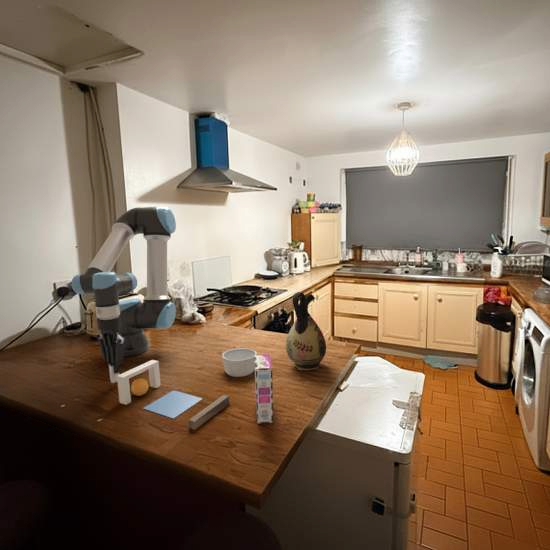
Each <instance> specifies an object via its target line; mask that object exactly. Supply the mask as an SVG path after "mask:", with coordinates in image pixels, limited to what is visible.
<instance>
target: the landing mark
mask: <svg viewBox="0 0 550 550" xmlns="http://www.w3.org/2000/svg"><path fill="white" fill-rule="evenodd" d="M203 399H204V398H202V397H198V396H195V395H192V394H188V393H185V392H182V391H178V390H174V389H173V390H172V391H170V392H168V393H166V394H164V395H163V396H162V397H159V398H158V399H156V400H154V401H152V402H151V403H150V404H148V405H145V406H144V407H143V408H142V409H143V410H145V411H148V412H151V413H155V414H157V415H161V416H164V417H167V418H168V419H169V418H170V419H173V420H174V419H176V418H177V417H179V416H180V415H182V414H183V413H185V412H186V411H188V410H189V409H191V408H192V407H194V406H195V405H196V404H198V403H200V402H201V401H203Z"/></svg>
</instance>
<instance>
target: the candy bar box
mask: <svg viewBox="0 0 550 550" xmlns="http://www.w3.org/2000/svg"><path fill="white" fill-rule="evenodd" d="M273 378H274V377H273V366H272V360H271V355H270V354H257V355H255V370H254V380H255V381H254V385H255V387H254V389H255V390H254V391H255V413H256V423H257V424H258V425H261V424H272V423H273V424H274V392H273V391H274V386H273V384H274V383H273Z"/></svg>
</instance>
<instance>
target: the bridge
mask: <svg viewBox="0 0 550 550" xmlns="http://www.w3.org/2000/svg"><path fill="white" fill-rule="evenodd" d="M159 362H160V361H159V360H155V359H150V360H148V361H146V362H145V363H142V364H140V365H138V366H136V367H133V368H130V369H129V370H127V371H124V372H122V373H119V375H118V376H117V382H116V383H117V391H118V400H119V404H122V405H124V406H125V405H126V406H127V405H128V404H130V403H132V397H131V386H130V379H131V378H133V377H135V376H138V375H139V374H141V373H145V372H146V371H148V378H149V387H150V388H154V389H157V388H159V387H161V385H162V384H161V375H160V364H159Z"/></svg>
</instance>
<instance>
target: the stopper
mask: <svg viewBox="0 0 550 550" xmlns="http://www.w3.org/2000/svg"><path fill="white" fill-rule="evenodd" d="M229 404H230V396H229V395H227V394H226V395H225V394H223V395H221V396H220V397H219V398H218V399H216V400H214V401H213V402H212V403H210V404H209V405H207V406H206V407H205V408H203V409H202V410H200V411H199V412H198V413H196V414H195V415H193V416H192V417H191V418H189V419H188V427H189V429H191V430H193V431H196V430H197V429H198V428H200V427H201V426H202V425H204V424H206V422H207V421H209V420H210V419H211V418H213V417H214V416H215V415H216V414H218V413H219V412H220V411H221V410H223V409H224V408H225V407H227V406H228V405H229Z"/></svg>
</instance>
